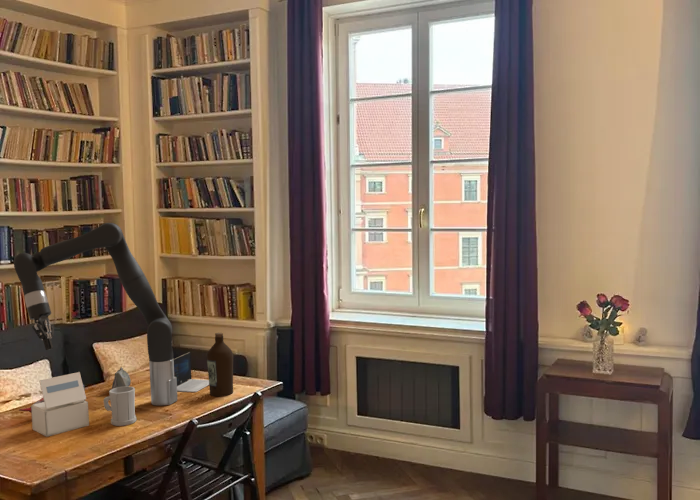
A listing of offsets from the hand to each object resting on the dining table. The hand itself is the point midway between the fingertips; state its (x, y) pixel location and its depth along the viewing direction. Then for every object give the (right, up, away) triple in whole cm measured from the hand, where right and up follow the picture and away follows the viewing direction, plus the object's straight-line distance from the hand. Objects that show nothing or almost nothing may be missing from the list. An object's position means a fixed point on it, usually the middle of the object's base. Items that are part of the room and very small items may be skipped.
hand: (49, 349), depth 246 cm
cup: (+28, -26, -5) cm, 38 cm away
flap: (+12, -17, -13) cm, 25 cm away
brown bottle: (+58, -23, +29) cm, 68 cm away
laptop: (+43, -23, +42) cm, 64 cm away
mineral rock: (+14, -23, +39) cm, 48 cm away
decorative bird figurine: (-4, -26, +2) cm, 27 cm away
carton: (+8, -26, -8) cm, 29 cm away
